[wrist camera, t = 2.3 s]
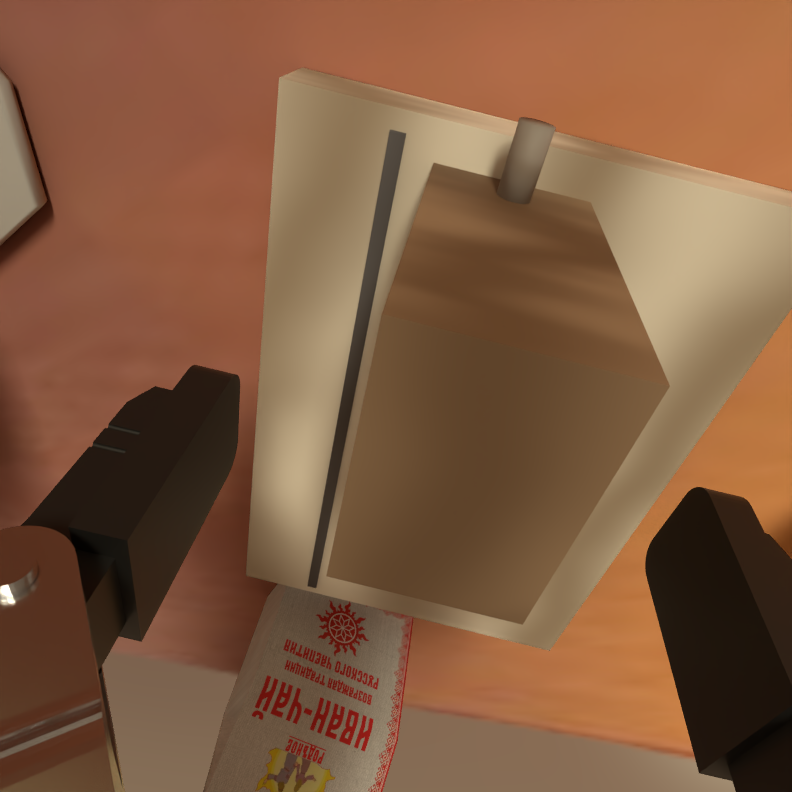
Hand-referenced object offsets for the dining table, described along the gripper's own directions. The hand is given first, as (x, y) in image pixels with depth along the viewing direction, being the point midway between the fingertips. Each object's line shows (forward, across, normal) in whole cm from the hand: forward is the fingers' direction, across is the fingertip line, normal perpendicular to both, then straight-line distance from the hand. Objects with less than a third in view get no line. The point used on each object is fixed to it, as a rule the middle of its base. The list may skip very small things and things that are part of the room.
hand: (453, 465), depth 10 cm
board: (+9, -1, +6) cm, 11 cm away
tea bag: (+10, +1, +20) cm, 22 cm away
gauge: (+7, 0, 0) cm, 7 cm away
